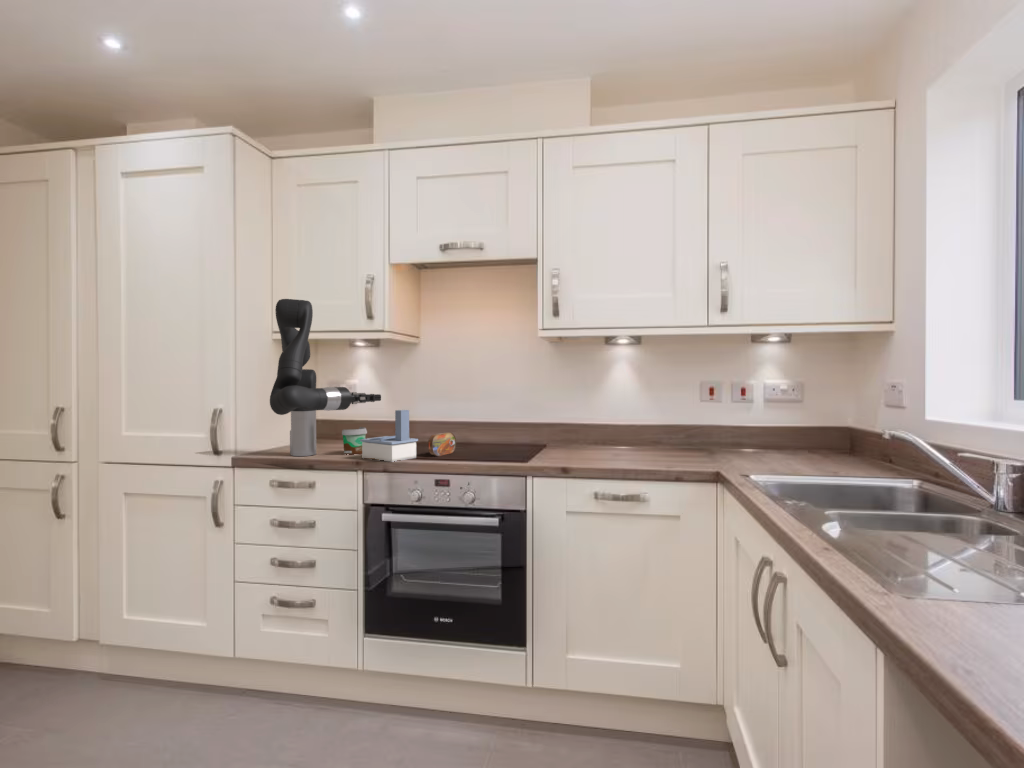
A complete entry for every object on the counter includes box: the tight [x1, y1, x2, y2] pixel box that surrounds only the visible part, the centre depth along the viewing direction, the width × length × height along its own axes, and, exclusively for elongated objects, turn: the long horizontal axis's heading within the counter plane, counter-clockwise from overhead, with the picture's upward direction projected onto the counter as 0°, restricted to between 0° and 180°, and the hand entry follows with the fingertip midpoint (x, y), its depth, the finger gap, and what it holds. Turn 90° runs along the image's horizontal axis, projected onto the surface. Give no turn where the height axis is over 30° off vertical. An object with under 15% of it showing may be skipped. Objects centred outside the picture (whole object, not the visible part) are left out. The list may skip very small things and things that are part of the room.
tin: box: [427, 431, 457, 457], centre depth 216 cm, size 15×3×8 cm, turn 149°
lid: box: [360, 409, 419, 445], centre depth 207 cm, size 17×13×12 cm
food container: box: [341, 426, 368, 456], centre depth 219 cm, size 12×6×10 cm, turn 161°
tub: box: [361, 441, 417, 463], centre depth 207 cm, size 16×12×6 cm
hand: (372, 397), depth 193 cm, fingers open, 8 cm apart
